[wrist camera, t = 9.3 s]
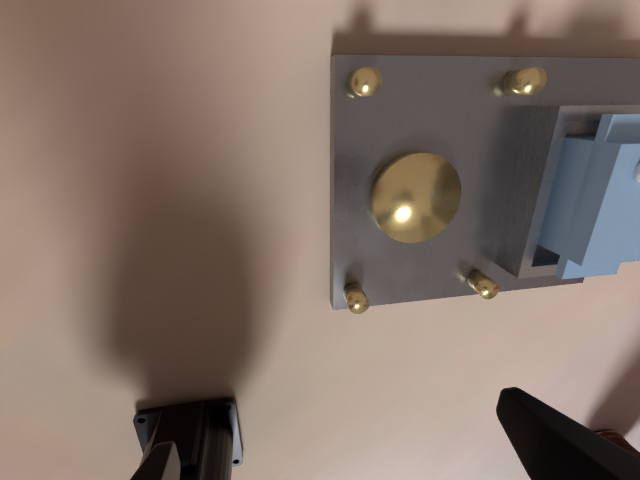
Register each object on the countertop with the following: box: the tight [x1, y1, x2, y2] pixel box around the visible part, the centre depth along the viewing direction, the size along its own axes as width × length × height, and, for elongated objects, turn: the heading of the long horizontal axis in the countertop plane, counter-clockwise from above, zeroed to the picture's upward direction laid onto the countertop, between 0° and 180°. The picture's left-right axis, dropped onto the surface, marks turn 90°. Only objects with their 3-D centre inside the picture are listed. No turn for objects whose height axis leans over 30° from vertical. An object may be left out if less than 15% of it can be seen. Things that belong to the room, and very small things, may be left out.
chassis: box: [330, 55, 640, 314], centre depth 19 cm, size 14×18×3 cm
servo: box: [537, 114, 640, 279], centre depth 18 cm, size 8×4×5 cm, turn 0°
